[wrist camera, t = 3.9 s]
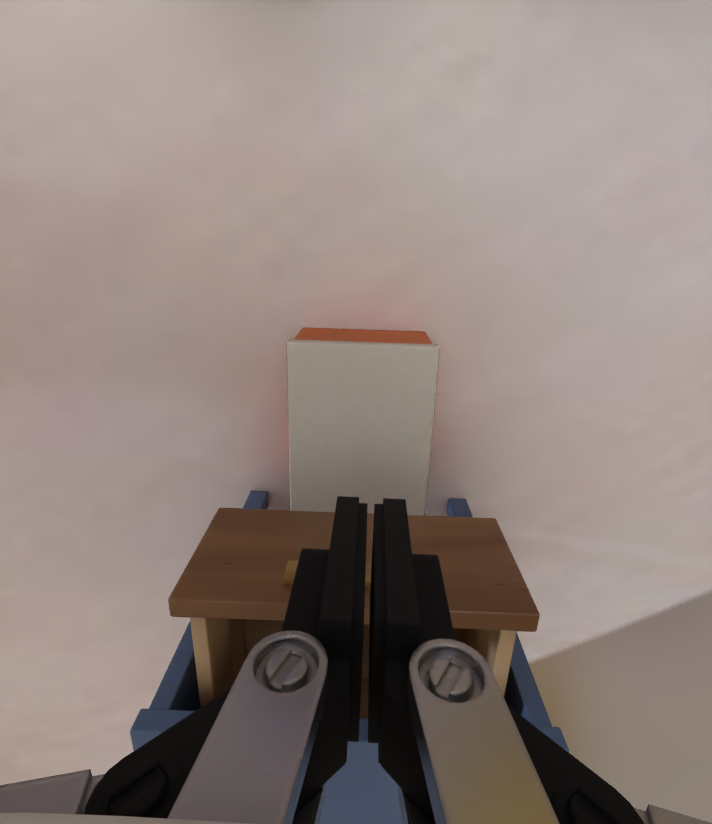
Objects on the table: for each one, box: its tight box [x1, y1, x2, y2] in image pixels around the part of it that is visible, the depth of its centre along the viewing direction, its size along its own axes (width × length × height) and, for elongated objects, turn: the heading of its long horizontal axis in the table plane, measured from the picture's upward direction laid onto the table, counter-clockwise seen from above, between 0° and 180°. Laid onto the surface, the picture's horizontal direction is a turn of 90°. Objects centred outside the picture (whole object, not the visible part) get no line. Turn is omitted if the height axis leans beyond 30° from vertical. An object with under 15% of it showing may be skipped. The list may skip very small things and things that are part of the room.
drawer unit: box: [130, 491, 569, 824], centre depth 26 cm, size 12×15×17 cm
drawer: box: [168, 508, 540, 719], centre depth 20 cm, size 10×13×6 cm
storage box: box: [287, 328, 440, 516], centre depth 28 cm, size 10×8×5 cm
